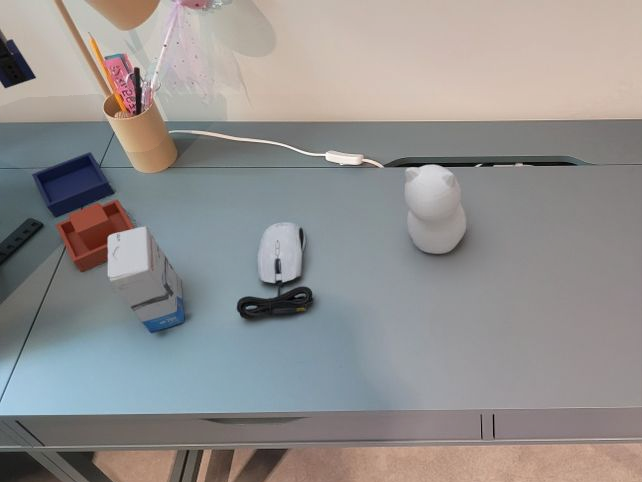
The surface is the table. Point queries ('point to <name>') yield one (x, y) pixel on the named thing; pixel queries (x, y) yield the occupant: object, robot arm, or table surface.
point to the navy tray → (72, 184)
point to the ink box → (145, 278)
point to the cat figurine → (434, 208)
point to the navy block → (20, 61)
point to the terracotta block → (92, 226)
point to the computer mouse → (279, 271)
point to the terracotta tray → (76, 245)
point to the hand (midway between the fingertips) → (14, 73)
